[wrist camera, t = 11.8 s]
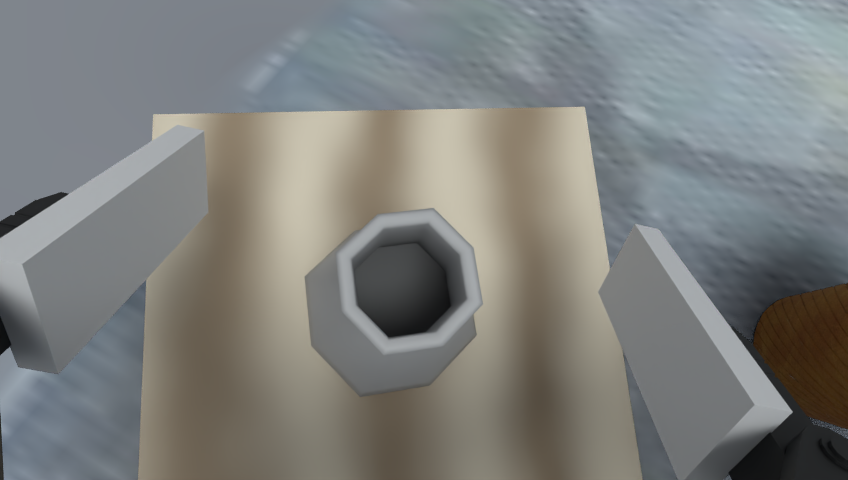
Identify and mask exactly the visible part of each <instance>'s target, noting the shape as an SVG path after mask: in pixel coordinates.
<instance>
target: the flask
mask: <svg viewBox="0 0 848 480" xmlns="http://www.w3.org/2000/svg"><path fill="white" fill-rule="evenodd" d="M305 286H306V297H307V307H308V318H309V328H310V338H311V346H312V347H313V348H314V349H315V350H316V351H317V352H318V354H319V355H320V356H321V357H322V358H323V359H324V360H325V361H326V362H327V363H328V364H329V365H330V366H331V367H332V368H333V369H334V370H335V371H336V372H337V373H338V374H339V376H340V377H341V378H342V379H343V380H344V381H345V382H346V383H347V384H348V385H349V386H350V387H351V388H352V389H353V390H354V391H355V392H356V393H357V394H358V395H359V397H364V396H370V395H376V394H382V393H388V392H394V391H400V390H406V389H412V388H419V387H425V386H430V385H431V384H432V383H433V382H434V381H435V380H436V378H437V377H438V376H439V375H440V374H441V373H442V372H443V371H444V370H445V369H446V368H447V367H448V366H449V365H450V363H451V362H452V361H453V360H454V359H455V358H456V357H457V356H458V355H459V354H460V353H461V352H462V351H463V350H464V348H465V347H466V346H467V345H468V344H469V343H470V342H471V341H472V340H473V339H474V338H475V337H476V336H477V333H476V327H475V321H474V315H473V314H474V313H475V312H476V311H477V310H478V309H479V308H480V307H481V306H482V305H483V301H482V295H481V289H480V283H479V277H478V271H477V265H476V259H475V253H474V247H473V246H472V245H471V244H469V243H468V242H467V241H466V240H465V239H464V238H463V237H462V236H461V235H460V234H459V233H458V232H457V231H456V230H455V229H454V228H453V227H452V226H451V225H450V224H449V223H448V222H447V221H446V220H445V219H444V218H443V217H442V216H441V215H440V214H439V213H438V212H437V211H436V210H435V209H434V208H428V209H419V210H410V211H401V212H392V213H383V214H377V215H376V216H375V217H374V218H373V219H372V220H371V221H370V222H369V223H367V224H366V225H365V226H364V227H363V228H362V229H361V230H355V231H354V232H352V233H351V234H350V235H349V236H348V237H347V238H346V239H345V240H344V241H343V242H342V243H341V244H339V245H338V246H337V247H336V248H335V249H334V250H333V251H332V252H331V253H330V254H329V255H327V256H326V257H325V258H324V259H323V260H322V261H321V262H320V263H319V264H318V265H317V266H315V267H314V268H313V269H312V270H311V271H310V272H309V273H308V274H307V275H306V276H305Z"/></svg>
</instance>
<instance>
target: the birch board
mask: <svg viewBox="0 0 848 480" xmlns="http://www.w3.org/2000/svg"><path fill="white" fill-rule="evenodd" d="M176 125H181V126H185V127H190V128H195V129H199V130H204V135H205V155H206V174H207V194H208V213H207V214H206V215H205V216H204V217H203V219H202V220H201V221H200V222H199V223H198V224H197V225H196V226H195V227H194V228H193V229H192V230H191V231H190V233H189V234H188V235H187V236H186V237H185V238H184V239H183V240H182V241H181V242H180V243H179V244H178V246H177V247H176V248H175V249H174V250H173V251H172V252H171V253H170V254H169V255H168V256H167V257H166V258H165V260H164V261H163V262H162V263H161V264H160V265H159V266H158V267H157V268H156V269H155V270H154V271H153V273H152V274H151V275H150V276H149V277H148V278H147V279H146V302H145V326H144V350H143V375H142V399H141V423H140V447H139V471H138V480H643V478H642V472H641V466H640V459H639V453H638V446H637V440H636V434H635V427H634V421H633V414H632V408H631V401H630V395H629V389H628V382H627V376H626V369H625V363H624V356H623V350H622V347H621V345H620V342H619V340H618V338H617V335H616V333H615V331H614V328H613V326H612V324H611V321H610V319H609V316H608V314H607V312H606V309H605V307H604V305H603V302H602V300H601V298H600V295H599V293H598V291H599V289H600V288H601V286H602V284H603V282H604V280H605V278H606V276H607V275H608V273H609V271H610V266H609V260H608V254H607V247H606V241H605V234H604V228H603V222H602V215H601V209H600V202H599V196H598V189H597V183H596V177H595V170H594V164H593V157H592V151H591V144H590V138H589V132H588V125H587V119H586V112H585V107H549V108H492V109H436V110H379V111H323V112H267V113H210V114H160V115H159V114H154V115H153V135H152V141H153V140H154V139H156V138H157V137H159V136H161V135H162V134H164V133H165V132H167V131H168V130H170V129H171V128H173V127H175V126H176ZM428 208H434V209H435V210H436V211H437V212H438V213H439V214H440V215H441V216H442V217H443V218H444V219H445V220H446V221H447V222H448V223H449V224H450V225H451V226H452V227H453V228H454V229H455V230H456V231H457V232H458V233H459V234H460V235H461V236H462V237H463V238H464V239H465V240H466V241H467V242H468V243H469V244H471V245H472V246H473V247H474V253H475V259H476V265H477V271H478V277H479V283H480V289H481V295H482V301H483V305H482V306H481V307H480V308H479V309H478V310H477V311H476V312H475V313H474V314H473V315H474V321H475V327H476V333H477V336H476V337H475V338H474V339H473V340H472V341H471V342H470V343H469V344H468V345H467V346H466V347H465V348H464V350H463V351H462V352H461V353H460V354H459V355H458V356H457V357H456V358H455V359H454V360H453V361H452V362H451V363H450V365H449V366H448V367H447V368H446V369H445V370H444V371H443V372H442V373H441V374H440V375H439V376H438V377H437V378H436V380H435V381H434V382H433V383H432V384H431V385H430V386H425V387H419V388H412V389H406V390H400V391H394V392H388V393H382V394H376V395H370V396H364V397H359V395H358V394H357V393H356V392H355V391H354V390H353V389H352V388H351V387H350V386H349V385H348V384H347V383H346V382H345V381H344V380H343V379H342V378H341V377H340V376H339V374H338V373H337V372H336V371H335V370H334V369H333V368H332V367H331V366H330V365H329V364H328V363H327V362H326V361H325V360H324V359H323V358H322V357H321V356H320V355H319V354H318V352H317V351H316V350H315V349H314V348H313V347H312V346H311V338H310V328H309V318H308V307H307V297H306V286H305V276H306V275H307V274H308V273H309V272H310V271H311V270H312V269H313V268H314V267H315V266H317V265H318V264H319V263H320V262H321V261H322V260H323V259H324V258H325V257H326V256H327V255H329V254H330V253H331V252H332V251H333V250H334V249H335V248H336V247H337V246H338V245H339V244H341V243H342V242H343V241H344V240H345V239H346V238H347V237H348V236H349V235H350V234H351V233H352V232H354V231H355V230H361V229H362V228H363V227H364V226H365V225H366V224H367V223H369V222H370V221H371V220H372V219H373V218H374V217H375V216H376V215H377V214H383V213H392V212H401V211H410V210H419V209H428Z"/></svg>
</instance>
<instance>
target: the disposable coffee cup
mask: <svg viewBox="0 0 848 480" xmlns="http://www.w3.org/2000/svg"><path fill="white" fill-rule="evenodd" d="M753 346H754V347H755V348H756V350H757V351H758V352H759V354H760V355H761V356H762V357H763V359H764V360H765V361H764V363H766V364H768V365H769V367H770V368H771V369H772V371H773V372H774V373H775V377H776V378H778V379H779V380H780V381H781V383H782V384H783V385H784V386H785V388H786V389H787V390H788V392H789V393H790V394H791V396H792V397H793V398H794V400H795V401H796V402H797V404H798V405H799V406H800V408H801V409H802V410H803V412H804V413H805V414H806V415H807V416H808V417H812V418H815V419H818V420H821V421H824V422H827V423H830V424H833V425H836V426H839V427H842V428H846V429H848V283H846V284H841V285H837V286H834V287H828V288H825V289H823V290H821V289H820V290H816V291H812V293H811V292H807V293H803V294H801V295H800V294H799V295H794V296H789V297H785V298H783V299H780V300H778V301H776V302H775V303H774V304H772V305H771V306H770V307H768V308H767V309H766V311H765V312H764V313H763V314H762V316H761V318H760V320H759V322H758V324H757V327H756V331H755V335H754V344H753Z"/></svg>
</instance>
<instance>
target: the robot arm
mask: <svg viewBox="0 0 848 480" xmlns="http://www.w3.org/2000/svg"><path fill="white" fill-rule="evenodd" d="M207 213H208V194H207V174H206V155H205V135H204V130H199V129H195V128H190V127H185V126H181V125H176V126H175V127H173V128H171V129H170V130H168V131H167V132H165V133H164V134H162V135H161V136H159V137H157V138H156V139H154V140H153V141H151V142H150V143H148V144H146V145H145V146H143V147H142V148H140V149H139V150H137V151H136V152H134V153H132V154H131V155H129V156H128V157H126V158H125V159H123V160H122V161H120V162H118V163H117V164H115V165H114V166H112V167H111V168H109V169H107V170H106V171H105V172H103V173H101V174H100V175H98V176H96V177H95V178H93V179H92V180H90V181H89V182H87V183H86V184H84V185H83V186H81V187H79V188H78V189H76V190H75V191H73V192H71V193H70V194H67V193H62V192H60V193H57V194H54V195H51V196H48V197H45V198H41V199H39V200H35V201H33V202H32V203H30V204H29V205H27V206H25V207H23V208H22V209H20V210H19V211H17V212H15V215H10V216H9V217H7V218H5V219H4V220H2V221H0V355H1V354H2V353H3V352H4V351H5V350H6V349H8V348H9V347H10V348H11V350H12V353H13V355H14V358H15V360H16V363H17V365H18V367H20V368H26V369H31V370H37V371H43V372H48V373H54V374H59V373H60V372H61V371H62V370H63V369H64V368H65V367H66V365H67V364H68V363H69V362H70V361H71V360H72V359H73V358H74V357H75V356H76V355H77V354H78V352H79V351H80V350H81V349H82V348H83V347H84V346H85V345H86V344H87V343H88V342H89V341H90V340H91V338H92V337H93V336H94V335H95V334H96V333H97V332H98V331H99V330H100V329H101V328H102V327H103V325H104V324H105V323H106V322H107V321H108V320H109V319H110V318H111V317H112V316H113V315H114V314H115V313H116V311H117V310H118V309H119V308H120V307H121V306H122V305H123V304H124V303H125V302H126V301H127V300H128V298H129V297H130V296H131V295H132V294H133V293H134V292H135V291H136V290H137V289H138V288H139V287H140V286H141V284H142V283H143V282H144V281H145V280H146V279H147V278H148V277H149V276H150V275H151V274H152V273H153V271H154V270H155V269H156V268H157V267H158V266H159V265H160V264H161V263H162V262H163V261H164V260H165V258H166V257H167V256H168V255H169V254H170V253H171V252H172V251H173V250H174V249H175V248H176V247H177V246H178V244H179V243H180V242H181V241H182V240H183V239H184V238H185V237H186V236H187V235H188V234H189V233H190V231H191V230H192V229H193V228H194V227H195V226H196V225H197V224H198V223H199V222H200V221H201V220H202V219H203V217H204V216H205V215H206V214H207ZM598 293H599V295H600V298H601V300H602V302H603V305H604V307H605V309H606V312H607V314H608V316H609V319H610V321H611V324H612V326H613V328H614V331H615V333H616V335H617V338H618V340H619V342H620V345H621V347H622V349H623V352H624V354H625V356H626V359H627V361H628V364H629V366H630V368H631V371H632V373H633V375H634V378H635V380H636V382H637V385H638V387H639V389H640V392H641V394H642V396H643V399H644V401H645V404H646V406H647V408H648V411H649V413H650V415H651V418H652V420H653V422H654V425H655V427H656V429H657V432H658V434H659V436H660V439H661V441H662V444H663V446H664V448H665V451H666V453H667V455H668V458H669V460H670V462H671V465H672V467H673V469H674V472H675V474H676V476H677V479H678V480H723V479H724V478H726V477H727V476H728V475H730V477H731V479H732V480H848V440H847V439H846V438H845V437H843V436H841V435H839V434H838V433H836V432H834V431H832V430H830V429H827V428H824V427H820V426H816V425H813V423H812V422H811V421H810V419H809V418H808V417H807V415H806V414H805V413H804V412H803V410H802V409H801V408H800V406H799V405H798V404H797V402H796V401H795V400H794V398H793V397H792V396H791V394H790V393H789V392H788V390H787V389H786V388H785V386H784V385H783V384H782V383H781V381H780V380H779V379H778V378H776V377H775V373H774V372H773V371H772V369H771V368H770V367H769V365H768V364H766V363H764V361H765V360H764V359H763V357H762V356H761V355H760V354H759V352H758V351H757V350H756V348H755V347H754V346H753V344H752V343H751V342H749V341H748V340H747V339H746V338H745V337H744V336H743V335H741V334H740V333H739V332H738V331H737V330H736V329H735V328H733V327H730V326H729V325H728V323H727V322H726V320H725V319H724V318H723V316H722V315H721V314H720V312H719V311H718V310H717V308H716V307H715V306H714V304H713V303H712V301H711V300H710V299H709V297H708V296H707V295H706V293H705V292H704V291H703V289H702V288H701V286H700V285H699V284H698V282H697V281H696V280H695V278H694V277H693V276H692V274H691V273H690V272H689V270H688V269H687V267H686V266H685V265H684V263H683V262H682V261H681V259H680V258H679V257H678V255H677V254H676V252H675V251H674V250H673V248H672V247H671V246H670V244H669V243H668V242H667V240H666V239H665V237H664V236H663V235H662V233H661V232H660V231H659V229H656V228H651V227H647V226H642V225H637V224H635V225H634V226H633V228H632V230H631V232H630V234H629V236H628V238H627V239H626V241H625V243H624V245H623V247H622V249H621V250H620V252H619V254H618V256H617V258H616V260H615V262H614V263H613V265H612V267H611V269H610V271H609V273H608V275H607V276H606V278H605V280H604V282H603V284H602V286H601V288H600V289H599V291H598ZM0 480H4V475H3V455H2V435H1V415H0Z"/></svg>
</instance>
